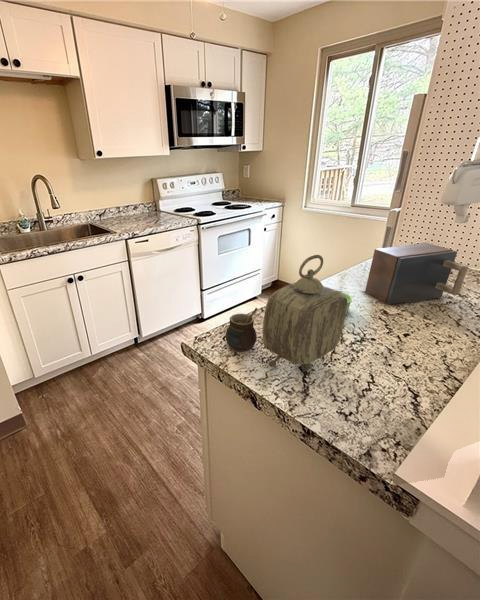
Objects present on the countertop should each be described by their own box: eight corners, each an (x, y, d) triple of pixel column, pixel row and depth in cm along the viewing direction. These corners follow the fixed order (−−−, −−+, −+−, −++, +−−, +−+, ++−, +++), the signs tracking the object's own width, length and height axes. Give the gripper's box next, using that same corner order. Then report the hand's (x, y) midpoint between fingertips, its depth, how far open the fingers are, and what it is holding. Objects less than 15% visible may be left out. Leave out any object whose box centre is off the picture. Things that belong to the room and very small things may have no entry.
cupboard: (437, 296, 90) (453, 249, 84) (385, 303, 89) (397, 256, 83) (412, 286, 97) (425, 242, 91) (364, 292, 96) (374, 248, 90)
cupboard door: (461, 305, 84) (479, 257, 78) (405, 313, 83) (420, 265, 77) (438, 296, 90) (453, 250, 84) (386, 303, 89) (398, 257, 83)
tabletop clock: (301, 343, 75) (316, 243, 65) (338, 361, 68) (362, 252, 57) (259, 366, 69) (268, 259, 58) (295, 388, 62) (313, 272, 51)
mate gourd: (219, 344, 78) (219, 309, 74) (242, 335, 81) (244, 301, 77) (237, 358, 72) (239, 321, 68) (263, 348, 75) (266, 312, 71)
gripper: (472, 162, 64) (452, 228, 70) (562, 149, 65) (534, 216, 71) (442, 162, 69) (425, 223, 75) (525, 150, 71) (502, 212, 77)
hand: (478, 219), depth 73 cm, fingers open, 8 cm apart
